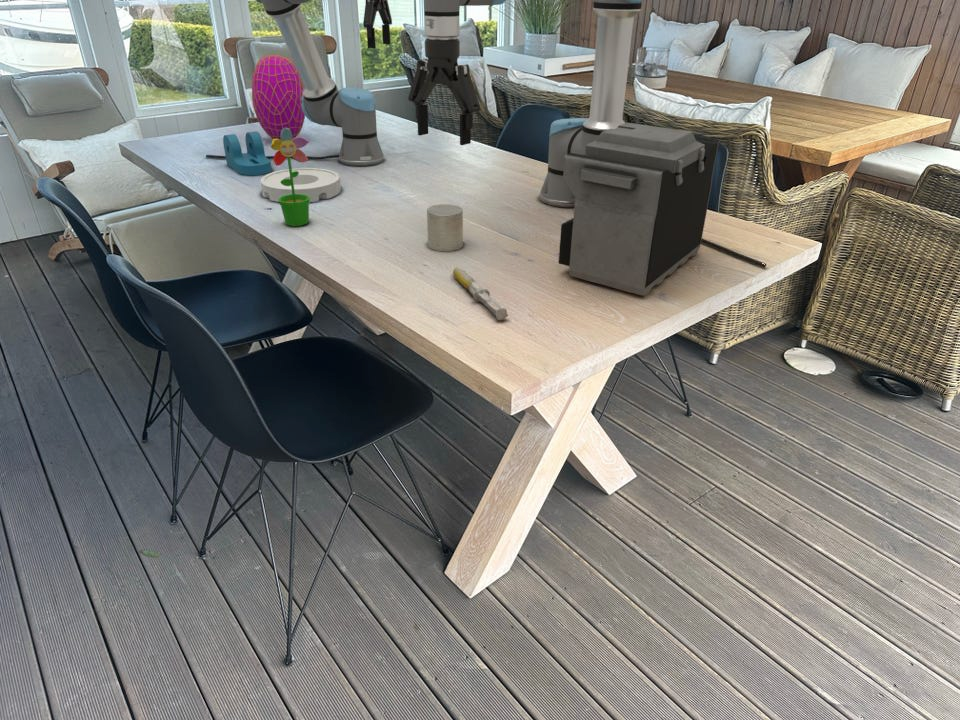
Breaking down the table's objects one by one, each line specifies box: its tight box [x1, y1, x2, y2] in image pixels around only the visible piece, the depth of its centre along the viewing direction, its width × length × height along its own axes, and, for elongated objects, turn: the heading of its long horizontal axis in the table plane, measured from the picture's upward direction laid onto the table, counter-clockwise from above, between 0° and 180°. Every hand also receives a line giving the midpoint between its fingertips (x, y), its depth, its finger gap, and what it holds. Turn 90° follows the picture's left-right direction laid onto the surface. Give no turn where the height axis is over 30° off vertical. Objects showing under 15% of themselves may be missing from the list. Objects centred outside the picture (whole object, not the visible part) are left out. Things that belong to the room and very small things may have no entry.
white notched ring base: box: [260, 167, 342, 203], centre depth 207 cm, size 23×23×4 cm
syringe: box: [452, 266, 509, 321], centre depth 145 cm, size 25×4×3 cm, turn 21°
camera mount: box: [222, 131, 272, 176], centre depth 226 cm, size 18×10×10 cm, turn 35°
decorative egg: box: [251, 54, 306, 141], centre depth 257 cm, size 19×19×30 cm
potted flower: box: [270, 128, 310, 227], centre depth 177 cm, size 9×8×25 cm
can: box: [426, 203, 464, 252], centre depth 169 cm, size 9×9×9 cm
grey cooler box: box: [558, 122, 720, 297], centre depth 154 cm, size 37×22×30 cm, turn 144°
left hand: (379, 46), depth 251 cm, fingers open, 13 cm apart
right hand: (443, 139), depth 158 cm, fingers open, 13 cm apart
